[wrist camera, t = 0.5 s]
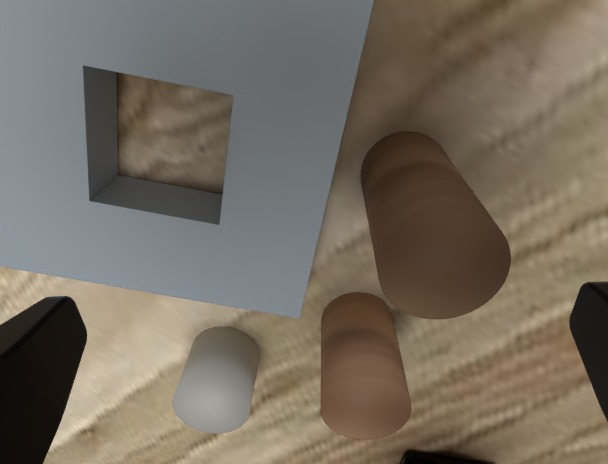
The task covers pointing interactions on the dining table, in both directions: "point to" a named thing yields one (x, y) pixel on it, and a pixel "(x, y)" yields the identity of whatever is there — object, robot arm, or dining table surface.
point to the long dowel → (429, 230)
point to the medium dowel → (362, 369)
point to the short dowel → (218, 381)
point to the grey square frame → (164, 197)
